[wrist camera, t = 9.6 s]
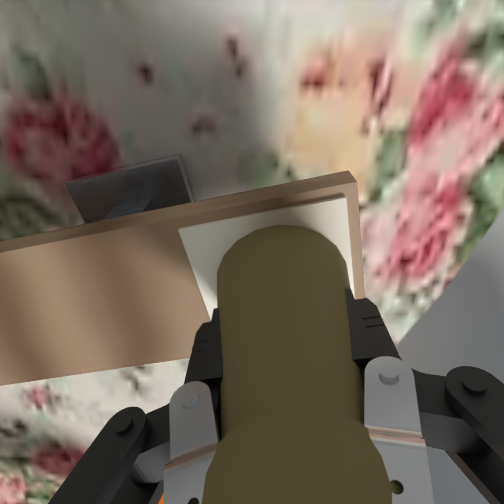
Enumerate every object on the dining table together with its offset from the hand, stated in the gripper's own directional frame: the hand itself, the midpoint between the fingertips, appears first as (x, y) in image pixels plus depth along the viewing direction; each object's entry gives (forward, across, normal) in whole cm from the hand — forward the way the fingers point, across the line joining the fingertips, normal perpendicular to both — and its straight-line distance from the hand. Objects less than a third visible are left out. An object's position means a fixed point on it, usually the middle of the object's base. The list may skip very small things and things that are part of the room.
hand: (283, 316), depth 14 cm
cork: (+3, 0, 0) cm, 3 cm away
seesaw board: (+4, +8, 0) cm, 9 cm away
